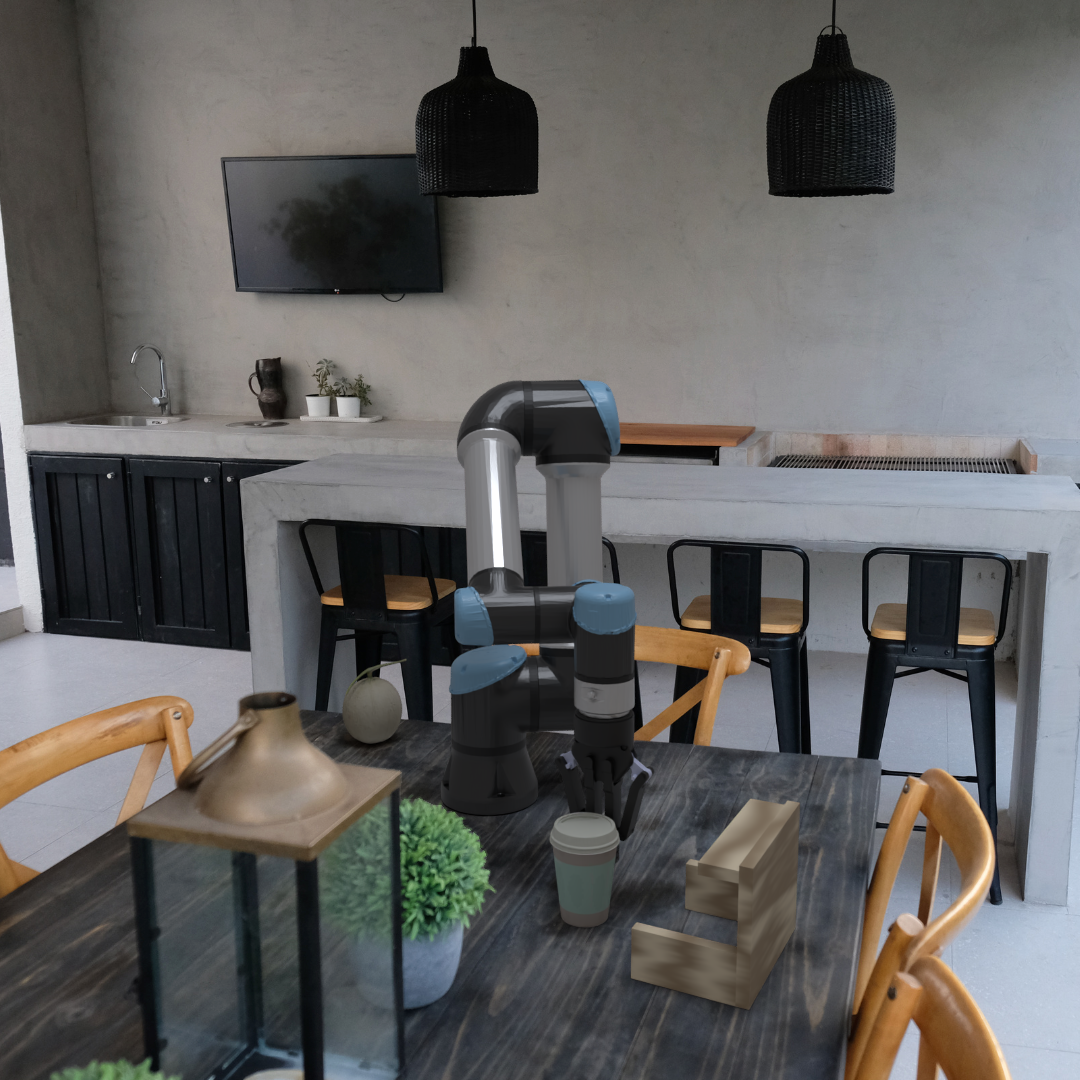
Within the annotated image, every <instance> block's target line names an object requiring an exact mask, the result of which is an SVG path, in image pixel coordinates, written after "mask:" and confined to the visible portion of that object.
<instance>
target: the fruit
mask: <svg viewBox="0 0 1080 1080" xmlns="http://www.w3.org/2000/svg"><path fill="white" fill-rule="evenodd" d="M406 661H407V658H404V659H401V660H397V661H391V662H387V663H382V664H377V665H375V666H372V667H368V668H366V669H364V671H362V672H361V673H360V674H359V675H358V676H357V677H355V679H353V681H352V682H351V683H350V684H349V686H348V688H347V690H346V692H345V695H344V698H343V702H342V707H341V708H342V709H341V712H342V713H341V715H342V719H343V720H342V721H343V724H344V726H345V728H346V730H347V732H348V733H349V735H351V737H353V738H354V739H355V740H357V741H359V742H362V743H364V744H376V743H382V742H384V741H387V740H388V739H389V738H391V737H392V736H393V735H394V734H395V733H396V732H397V730H398V728H399V726H400V724H401V721H402V715H403V704H402V703H403V702H402V699H401V695H400V693H399V691H398V690H397V688H396V687H395V686H394V685H393V684H392V683H391V682H390V681H389V680H387V679H384V678H382V677H379V676H378V677H377V676H374V677H373V672H374V671H376V670H378V669H381V668H384V667H388V666H391V665H396V664H400V663H403V662H406ZM365 674H367V677H366V678H362V679H361V677H363V676H364V675H365ZM359 679H361V680H359Z"/></svg>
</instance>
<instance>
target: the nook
mask: <svg viewBox="0 0 1080 1080" xmlns="http://www.w3.org/2000/svg"><path fill="white" fill-rule="evenodd" d="M800 809H801V802H797V801H793V800H786V802H785V803H784V804H781V803H777V802H772V801H766V800H761V799H756V798H755V799H754V798H750V799H749V800H748V801H747V802H746V803H745V805H743V807H742V808H741V809H740V811H739V812H738V813H736V816H735V817H734V818H732V819H731V821H730V823H729V824H728V825H727V827H726V828H725V829H724V830H723V831H722V832H721V834H720V835H719V836H718V837H717V838H716V839H715V841H714V842H713V843H712V844H711V846H710V847H709V849H707V851H705V853H704V854H703V856H702V857H701V858H700V859H699V860H696V859H692V858H690V859H688V860H687V862H686V863H685V895H684V897H685V898H684V900H685V901H684V905H685V906H684V909H685V910H688V911H689V910H690V911H694V912H697V913H701V914H706V915H711V916H714V917H719V918H723V919H727V920H731V921H734V922H735V921H737V933H736V936H737V937H736V938H737V939H736V945H731V944H729V943H723V942H718V941H715V940H710V939H707V938H703V937H699V936H695V935H690V934H686V933H683V932H678V931H674V930H670V929H666V928H662V927H658V926H654V925H649V924H645V923H640V922H635V923H634V924H633V926H632V927H631V929H630V931H631V936H630V938H631V940H630V941H631V942H630V944H631V947H630V951H631V953H630V979H633V980H636V981H639V982H644V983H647V984H651V985H654V986H658V987H663V988H666V989H670V990H674V991H677V992H680V993H684V994H687V995H691V996H695V997H699V998H703V999H707V1000H710V1001H713V1002H717V1003H720V1004H721V1003H722V1004H725V1005H729V1006H732V1007H737V1008H740V1009H742V1010H743V1009H745V1010H748V1011H749V1010H750V1009H751V1007H752V1005H753V1004H754V1003H755V1000H756V998H757V997H758V996H759V993H760V991H761V990H762V988H763V986H764V984H765V983H766V981H767V979H768V977H769V976H770V974H771V973H772V970H774V967H775V965H776V964H777V962H778V960H779V957H780V956H781V955H782V952H783V951H784V949H785V947H786V946H787V943H788V942H789V940H790V939H791V937H792V935H793V933H794V932H795V929H796V927H797V926H796V921H797V900H798V899H797V896H798V895H797V894H798V869H799V868H798V867H799V845H800V844H799V843H800V842H799V841H800V840H799V838H800V816H801V814H800V811H801V810H800Z"/></svg>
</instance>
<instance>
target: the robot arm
mask: <svg viewBox="0 0 1080 1080" xmlns="http://www.w3.org/2000/svg"><path fill="white" fill-rule="evenodd" d="M463 417H464V418H463V419H462V422H461V424H460V426H459V430H458V433H457V439H456V454H457V455H456V456H457V460H458V463H459V464H460V465H461V467H462V468H463V470H464V499H465V503H464V505H465V531H466V533H465V534H466V560H467V561H466V566H467V587H463V588H458V589H456V590H455V591H454V595H453V596H454V597H453V599H454V600H453V601H454V605H453V606H454V636H455V640H456V641H457V642H458V643H459V644H461V645H465V646H481V647H478V648H474V649H471V650H468V651H466V652H463V653H462V654H460V655H459V656H457V657H456V658H455V659H454V661H453V662H452V664H451V667H450V683H449V687H448V692H449V693H450V741H451V742H450V743H451V744H450V746H451V749H450V750H451V751H450V753H449V755H448V756H449V757H448V759H447V763H446V767H445V768H444V772H443V776H442V779H441V782H440V799H441V801H442V803H443V804H444V805H445V806H447V807H448V808H450V809H452V810H454V811H457V812H460V813H465V814H468V815H469V814H470V815H480V816H481V815H483V816H494V815H504V814H505V815H506V814H509V813H510V814H511V813H514V812H518V811H521V810H524V809H526V808H528V807H530V806H531V805H533V804H534V803H535V802H536V801H537V799H538V796H539V791H538V790H539V789H538V787H539V784H538V778H537V776H536V772H535V769H534V766H533V763H532V760H531V757H530V754H529V752H528V749H527V733H543V732H545V733H546V732H549V733H550V732H572V731H573V736H574V741H573V744H572V745H571V748H570V750H568V751H564V752H563V753H561V754H560V755H558V756H557V757H556V758H555V759H554V765H555V766H556V768H557V771H559V773H560V775H561V778H562V779H561V780H562V784H563V788H564V792H565V797H566V800H567V801H566V802H567V805H568V811H569V814H571V813H577V812H590V813H597V814H601V815H603V792H604V816H607V817H609V818H610V819H612V820H613V821H614V823H615V826H616V830H617V831H618V833H619V838H620V842H626V841H627V839H629V838H630V837H631V836H632V835H633V834H634V832H635V828H636V825H637V821H638V818H639V814H640V809H641V807H642V802H643V798H644V794H645V791H646V788H647V784H648V782H649V781H650V779H652V777H653V776H654V774H655V769H654V768H653V767H652V766H645V765H644V764H642V762H640V761H639V759H638V754H637V752H636V749H635V747H634V743H635V742H634V740H635V712H634V710H633V708H634V707H635V704H636V703H635V699H636V697H635V693H636V691H635V685H636V684H635V655H636V653H635V652H636V651H635V649H636V648H635V646H636V643H635V642H636V621H637V620H638V617H637V616H638V615H637V614H638V613H637V611H636V598H635V597H636V595H635V592H634V590H633V589H632V588H630V587H629V586H627V585H623V584H620V583H613V582H604V581H603V580H604V577H603V576H604V573H603V572H604V571H603V569H604V568H603V531H602V530H603V526H602V525H603V523H602V522H603V521H602V477H603V475H604V474H605V473H606V472H607V471H608V470H609V469H610V468H611V457H614V456H617V455H618V454H619V453H620V451H621V427H620V420H619V419H620V417H619V413H618V408H617V402H616V399H615V396H614V392H613V391H612V389H611V388H610V386H609V385H608V384H607V383H605V382H603V381H600V380H587V379H581V378H579V379H563V380H562V379H561V380H560V379H558V380H557V379H556V380H555V379H553V380H521V379H520V380H510V381H509V380H508V381H505V382H501V383H499V384H497V385H494V386H493V387H491V388H489V390H487V391H486V392H485V393H483V394H482V395H481V396H479V398H477V399H476V400H475V401H474V403H473V404H472V405H471V406H470V408H469V409H468V411H467V412H466V414H465V416H463ZM521 457H535V469H536V470H537V471H538V472H539V473H540V474H541V475H542V476H543V478H544V480H545V506H546V507H545V511H546V516H545V517H546V518H545V519H546V555H547V556H546V557H547V558H546V559H547V560H546V564H547V568H546V569H547V586H546V585H545V586H538V585H537V586H525V581H524V570H523V569H524V567H523V556H522V542H521V541H522V540H521V526H520V515H519V514H520V513H519V512H520V511H519V502H518V501H519V499H518V486H517V484H518V483H517V472H516V471H517V470H516V469H517V468H516V466H518V464H519V462H520V459H521ZM530 644H531V645H532V644H534V645H537V644H538V655H534V656H533V655H530V656H528V653H527V652H526V649H525V648H524V647H522V646H520V645H530ZM577 765H578V766H579V768H580V770H581V771H582V773H583V774H584V778H583V780H584V788H585V793H584V790H583V785H582V780H581V774H580V771H579V768H578V766H577ZM630 770H631V774H630V777H631V778H630V779H631V781H632V783H631V785H630V786H629V787H630V788H629V791H628V794H627V798H626V802H625V805H624V809H623V814H622V786H623V782H624V777H625V776H626V774H628V773H629V771H630ZM619 860H620V843H619V844H618V845H617V849H616V858H615V865H617V863H618V862H619ZM613 883H614V881H613V882H612V884H613Z"/></svg>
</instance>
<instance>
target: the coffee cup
mask: <svg viewBox="0 0 1080 1080" xmlns="http://www.w3.org/2000/svg"><path fill="white" fill-rule="evenodd" d="M620 842H621V840H620V838H619V833H618V831H617V830H616V826H615V823H614V821H613V820H612V819H610V818H609V817H607V816H605V814H602V815H601V814H597V813H590V812H577V813H571V814H570V813H567V814H564V815H562V816H560V817H557V819H556V820H555V821H554V822H553V827H552V829H551V830H550V836H549V843H550V844H551V845H552V849H553V850H552V851H553V852H552V853H553V859H554V860H553V861H554V867H555V876H556V877H555V878H556V886H557V893H558V902H559V909H560V917H561V919H562V920H563V922H564V923H566V924H568V925H570V926H573V927H577V928H593V927H597V926H600V925H602V924H604V923H605V922H606V921H607V920H608V918H609V913H610V912H609V911H610V904H611V897H612V896H611V895H612V888H613V883H614V881H613V880H614V872H615V866H616V864H615V858H616V849H617V845H618V844H619V845H620ZM612 882H613V883H612Z"/></svg>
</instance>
